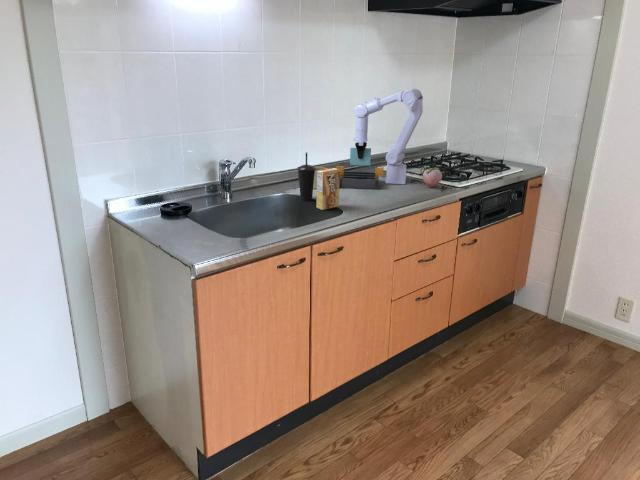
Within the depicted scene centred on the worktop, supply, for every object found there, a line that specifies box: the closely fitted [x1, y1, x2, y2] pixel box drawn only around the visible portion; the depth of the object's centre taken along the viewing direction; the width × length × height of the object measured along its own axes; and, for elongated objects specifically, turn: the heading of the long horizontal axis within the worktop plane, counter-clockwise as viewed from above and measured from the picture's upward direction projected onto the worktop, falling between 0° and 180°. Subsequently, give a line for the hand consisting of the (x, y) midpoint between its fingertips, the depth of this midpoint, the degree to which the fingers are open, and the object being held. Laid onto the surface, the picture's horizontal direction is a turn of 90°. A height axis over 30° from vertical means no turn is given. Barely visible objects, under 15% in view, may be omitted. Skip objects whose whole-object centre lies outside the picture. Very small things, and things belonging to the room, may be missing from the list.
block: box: [349, 147, 372, 166], centre depth 255 cm, size 10×2×8 cm, turn 84°
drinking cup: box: [296, 151, 316, 202], centre depth 216 cm, size 8×8×20 cm
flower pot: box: [313, 166, 328, 190], centre depth 237 cm, size 9×9×9 cm
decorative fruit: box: [422, 166, 443, 188], centre depth 241 cm, size 9×8×10 cm
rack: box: [335, 165, 384, 191], centre depth 243 cm, size 22×15×8 cm
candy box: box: [316, 167, 340, 211], centre depth 207 cm, size 9×4×15 cm, turn 129°
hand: (360, 157), depth 255 cm, fingers closed on block, 2 cm apart
